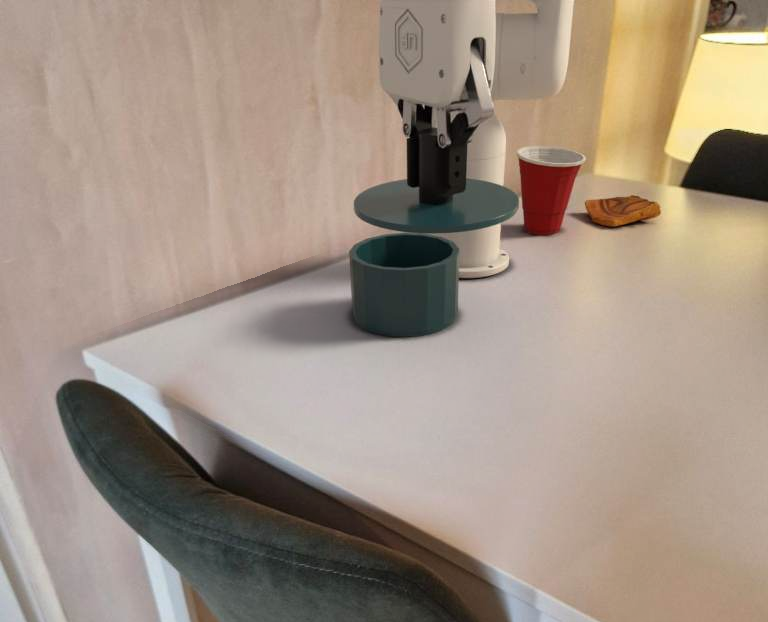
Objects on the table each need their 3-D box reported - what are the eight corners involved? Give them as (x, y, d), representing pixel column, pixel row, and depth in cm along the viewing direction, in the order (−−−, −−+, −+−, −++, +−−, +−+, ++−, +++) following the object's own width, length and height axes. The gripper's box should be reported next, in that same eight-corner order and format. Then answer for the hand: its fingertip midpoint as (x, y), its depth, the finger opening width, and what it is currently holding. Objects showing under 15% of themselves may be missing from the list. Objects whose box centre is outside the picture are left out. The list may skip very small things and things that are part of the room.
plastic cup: (577, 241, 121) (588, 160, 114) (509, 239, 123) (515, 159, 116) (576, 220, 130) (585, 144, 122) (511, 218, 131) (517, 143, 124)
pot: (334, 310, 102) (330, 247, 97) (417, 287, 108) (417, 226, 103) (390, 346, 93) (388, 278, 88) (477, 319, 99) (481, 253, 93)
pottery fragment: (665, 203, 126) (613, 199, 122) (656, 232, 128) (605, 229, 125) (631, 189, 133) (582, 185, 130) (623, 217, 136) (575, 214, 133)
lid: (324, 209, 70) (318, 129, 66) (451, 181, 76) (453, 106, 72) (415, 253, 60) (415, 163, 56) (553, 217, 66) (561, 133, 62)
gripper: (338, -72, 59) (351, 177, 71) (468, -74, 48) (459, 221, 60) (417, -76, 63) (417, 163, 74) (555, -78, 52) (531, 203, 63)
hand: (436, 187), depth 67 cm, fingers closed on lid, 3 cm apart
